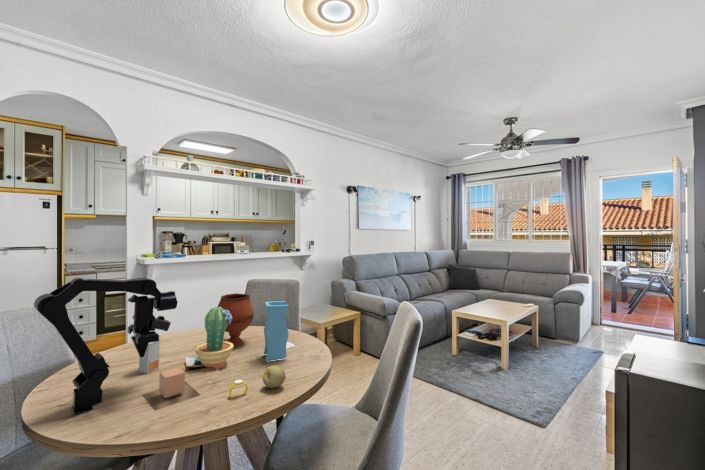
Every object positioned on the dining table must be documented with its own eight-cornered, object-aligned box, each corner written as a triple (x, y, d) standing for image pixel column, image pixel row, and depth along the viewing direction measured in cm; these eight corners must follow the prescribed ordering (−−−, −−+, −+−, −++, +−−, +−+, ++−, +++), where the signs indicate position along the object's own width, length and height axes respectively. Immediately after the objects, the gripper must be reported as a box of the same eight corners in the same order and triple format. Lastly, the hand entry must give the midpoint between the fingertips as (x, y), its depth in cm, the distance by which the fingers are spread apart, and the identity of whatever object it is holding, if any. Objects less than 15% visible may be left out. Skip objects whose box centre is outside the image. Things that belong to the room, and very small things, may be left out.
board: (154, 413, 98) (154, 410, 98) (141, 397, 108) (142, 394, 108) (200, 397, 109) (200, 394, 109) (185, 384, 118) (185, 381, 118)
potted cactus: (215, 375, 126) (217, 312, 127) (185, 369, 131) (187, 309, 132) (240, 361, 141) (242, 305, 141) (213, 356, 146) (214, 302, 146)
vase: (287, 360, 144) (289, 305, 144) (265, 362, 140) (267, 306, 141) (284, 352, 153) (285, 300, 153) (263, 354, 150) (264, 301, 150)
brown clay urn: (227, 337, 175) (228, 291, 175) (260, 339, 171) (261, 293, 172) (205, 348, 156) (207, 298, 156) (241, 352, 153) (243, 300, 153)
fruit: (261, 384, 119) (262, 363, 120) (283, 381, 122) (284, 360, 122) (263, 394, 112) (263, 371, 112) (286, 390, 115) (287, 368, 115)
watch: (230, 403, 106) (229, 385, 106) (228, 399, 109) (227, 382, 109) (248, 397, 110) (247, 380, 110) (246, 393, 112) (245, 377, 112)
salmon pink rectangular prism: (164, 397, 104) (165, 377, 104) (159, 391, 108) (159, 372, 108) (184, 391, 109) (184, 372, 109) (178, 385, 113) (178, 367, 113)
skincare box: (147, 374, 126) (148, 344, 126) (138, 373, 127) (139, 343, 127) (159, 368, 132) (160, 339, 132) (150, 367, 133) (151, 338, 133)
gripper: (176, 314, 112) (174, 359, 112) (162, 306, 126) (160, 345, 126) (139, 319, 105) (137, 367, 104) (128, 309, 118) (126, 351, 118)
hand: (141, 356), depth 113 cm, fingers closed
